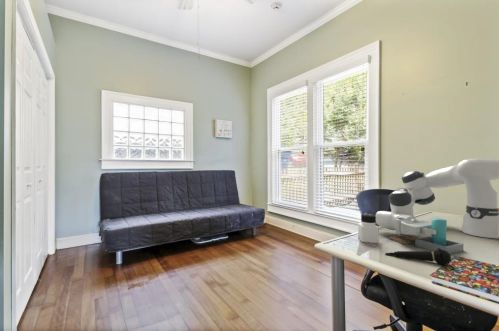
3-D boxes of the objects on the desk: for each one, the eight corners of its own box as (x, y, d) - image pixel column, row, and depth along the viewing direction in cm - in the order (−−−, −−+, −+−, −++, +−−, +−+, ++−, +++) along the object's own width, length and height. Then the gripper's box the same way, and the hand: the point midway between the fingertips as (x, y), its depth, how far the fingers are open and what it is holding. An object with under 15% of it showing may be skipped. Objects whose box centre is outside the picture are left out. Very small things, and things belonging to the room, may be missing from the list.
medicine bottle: (379, 243, 108) (379, 216, 108) (361, 242, 109) (362, 215, 109) (374, 238, 115) (374, 213, 115) (358, 237, 116) (358, 212, 116)
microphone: (386, 264, 92) (453, 269, 82) (384, 251, 91) (452, 254, 81) (385, 255, 97) (449, 259, 87) (384, 243, 96) (448, 245, 86)
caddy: (431, 242, 110) (431, 236, 110) (463, 250, 100) (463, 243, 100) (415, 245, 105) (415, 239, 105) (446, 254, 95) (446, 247, 95)
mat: (404, 236, 120) (404, 234, 120) (421, 240, 112) (421, 239, 112) (388, 239, 115) (388, 237, 115) (405, 244, 107) (405, 242, 107)
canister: (435, 245, 106) (435, 217, 106) (448, 249, 101) (449, 220, 101) (428, 246, 104) (428, 218, 104) (441, 250, 99) (442, 221, 99)
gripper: (421, 229, 119) (455, 236, 106) (393, 233, 110) (426, 242, 97) (421, 216, 119) (455, 222, 106) (393, 219, 110) (426, 226, 98)
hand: (441, 231), depth 102 cm, fingers closed on canister, 5 cm apart
